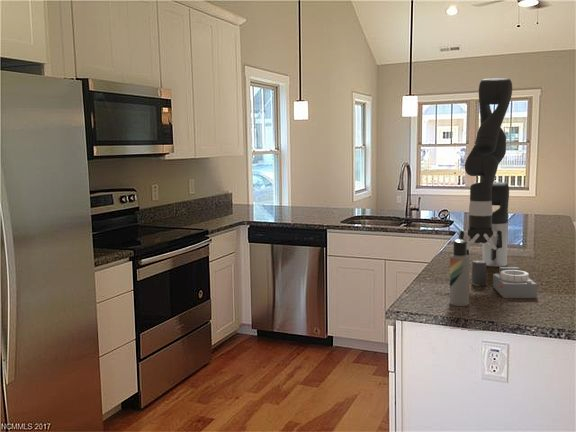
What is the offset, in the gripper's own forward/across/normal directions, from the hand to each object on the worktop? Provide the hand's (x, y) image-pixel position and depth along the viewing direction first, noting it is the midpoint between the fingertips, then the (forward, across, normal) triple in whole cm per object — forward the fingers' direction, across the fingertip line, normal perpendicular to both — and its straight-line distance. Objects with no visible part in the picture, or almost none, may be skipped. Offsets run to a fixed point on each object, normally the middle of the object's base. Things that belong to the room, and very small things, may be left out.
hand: (479, 260), depth 190 cm
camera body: (+9, -9, +10) cm, 16 cm away
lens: (+9, 0, 0) cm, 9 cm away
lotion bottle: (+9, +11, +24) cm, 28 cm away
